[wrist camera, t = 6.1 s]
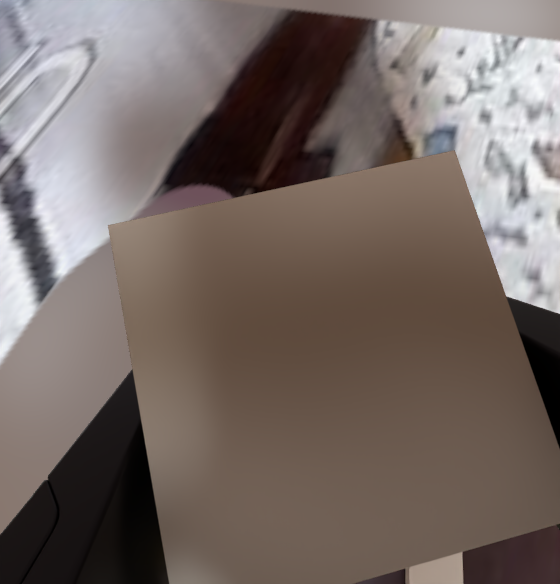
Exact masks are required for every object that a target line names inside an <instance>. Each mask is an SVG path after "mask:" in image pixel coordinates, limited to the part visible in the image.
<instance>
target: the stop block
mask: <svg viewBox="0 0 560 584" xmlns="http://www.w3.org/2000/svg"><path fill="white" fill-rule="evenodd" d="M108 229H109V234H110V240H111V246H112V252H113V258H114V263H115V269H116V275H117V281H118V287H119V293H120V299H121V304H122V310H123V316H124V322H125V328H126V334H127V340H128V346H129V351H130V357H131V363H132V369H133V375H134V381H135V386H136V392H137V398H138V404H139V410H140V416H141V422H142V427H143V433H144V439H145V445H146V451H147V457H148V462H149V468H150V474H151V480H152V486H153V492H154V498H155V503H156V509H157V515H158V521H159V527H160V533H161V538H162V544H163V550H164V556H165V562H166V568H167V574H168V579H169V584H354V583H357V582H360V581H364V580H367V579H371V578H374V577H378V576H381V575H385V574H388V573H391V572H395V571H398V570H402V569H405V568H409V567H412V566H416V565H419V564H422V563H426V562H429V561H433V560H436V559H440V558H443V557H447V556H450V555H453V554H457V553H460V552H464V551H467V550H471V549H474V548H478V547H481V546H484V545H488V544H491V543H495V542H498V541H502V540H505V539H509V538H512V537H515V536H519V535H522V534H526V533H529V532H533V531H536V530H540V529H543V528H546V527H550V526H553V525H557V524H560V448H559V445H558V443H557V440H556V437H555V434H554V431H553V428H552V426H551V423H550V420H549V417H548V414H547V411H546V409H545V406H544V403H543V400H542V397H541V394H540V391H539V389H538V386H537V383H536V380H535V377H534V374H533V372H532V369H531V366H530V363H529V360H528V357H527V355H526V352H525V349H524V346H523V343H522V340H521V338H520V335H519V332H518V329H517V326H516V323H515V320H514V318H513V315H512V312H511V309H510V306H509V303H508V301H507V298H506V295H505V292H504V289H503V286H502V284H501V281H500V278H499V275H498V272H497V269H496V266H495V264H494V261H493V258H492V255H491V252H490V249H489V247H488V244H487V241H486V238H485V235H484V232H483V230H482V227H481V224H480V221H479V218H478V215H477V212H476V210H475V207H474V204H473V201H472V198H471V195H470V193H469V190H468V187H467V184H466V181H465V178H464V176H463V173H462V170H461V167H460V164H459V161H458V159H457V156H456V153H455V150H454V151H450V152H445V153H440V154H436V155H431V156H426V157H422V158H417V159H413V160H408V161H403V162H399V163H394V164H389V165H385V166H380V167H375V168H371V169H366V170H362V171H357V172H352V173H348V174H343V175H338V176H334V177H329V178H325V179H320V180H315V181H311V182H306V183H301V184H297V185H292V186H288V187H283V188H278V189H274V190H269V191H264V192H260V193H255V194H251V195H246V196H241V197H237V198H232V199H227V200H223V201H218V202H214V203H209V204H204V205H200V206H195V207H191V208H186V209H181V210H177V211H172V212H167V213H163V214H158V215H154V216H149V217H144V218H139V219H135V220H130V221H126V222H121V223H116V224H112V225H108Z"/></svg>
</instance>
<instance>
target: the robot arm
mask: <svg viewBox="0 0 560 584" xmlns="http://www.w3.org/2000/svg"><path fill="white" fill-rule="evenodd" d="M506 298H507V301H508V303H509V306H510V309H511V312H512V315H513V318H514V320H515V323H516V326H517V329H518V332H519V335H520V338H521V340H522V343H523V346H524V349H525V352H526V355H527V357H528V360H529V363H530V366H531V369H532V372H533V374H534V377H535V380H536V383H537V386H538V389H539V391H540V394H541V397H542V400H543V403H544V406H545V409H546V411H547V414H548V417H549V420H550V423H551V426H552V428H553V431H554V434H555V437H556V440H557V443H558V445H559V448H560V314H558V313H555V312H552V311H549V310H546V309H543V308H540V307H537V306H534V305H531V304H528V303H525V302H522V301H519V300H516V299H512V298H509V297H506ZM557 527H558V528H559V530H560V524H557ZM0 584H169V579H168V574H167V568H166V562H165V556H164V550H163V544H162V538H161V533H160V527H159V521H158V515H157V509H156V503H155V498H154V492H153V486H152V480H151V474H150V468H149V462H148V457H147V451H146V445H145V439H144V433H143V427H142V422H141V416H140V410H139V404H138V398H137V392H136V386H135V381H134V375H133V369H132V370H131V371H130V373H129V374H128V375H127V377H126V378H125V379H124V380H123V382H122V383H121V384H120V385H119V387H118V388H117V389H116V390H115V392H114V393H113V394H112V396H111V397H110V398H109V399H108V401H107V402H106V403H105V404H104V406H103V407H102V408H101V409H100V411H99V412H98V413H97V415H96V416H95V417H94V418H93V420H92V421H91V422H90V423H89V425H88V426H87V427H86V428H85V430H84V431H83V432H82V433H81V435H80V436H79V437H78V439H77V440H76V441H75V442H74V444H73V445H72V446H71V447H70V449H69V450H68V451H67V452H66V454H65V455H64V456H63V458H62V459H61V460H60V461H59V463H58V464H57V465H56V466H55V468H54V469H53V470H52V471H51V473H50V474H49V475H48V480H45V481H44V482H43V483H42V484H41V485H40V486H39V488H38V489H37V490H36V491H35V493H34V494H33V495H32V497H31V498H30V499H29V500H28V502H27V503H26V504H25V505H24V506H23V508H22V509H21V510H20V511H19V513H18V514H17V515H16V517H14V519H13V520H12V521H11V522H10V524H9V525H8V526H7V527H6V529H5V530H4V531H3V532H2V533H1V534H0Z"/></svg>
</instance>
